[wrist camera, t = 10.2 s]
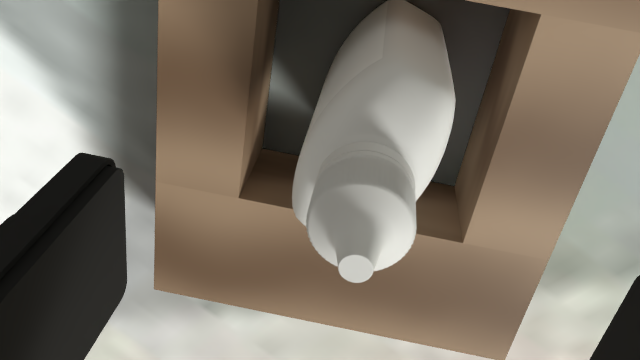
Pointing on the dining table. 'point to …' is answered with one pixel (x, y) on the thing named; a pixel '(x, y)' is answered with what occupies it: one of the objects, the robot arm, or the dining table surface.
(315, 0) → the dining table surface
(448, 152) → the dining table surface
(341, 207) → the eye dropper bottle
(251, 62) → the socket block
